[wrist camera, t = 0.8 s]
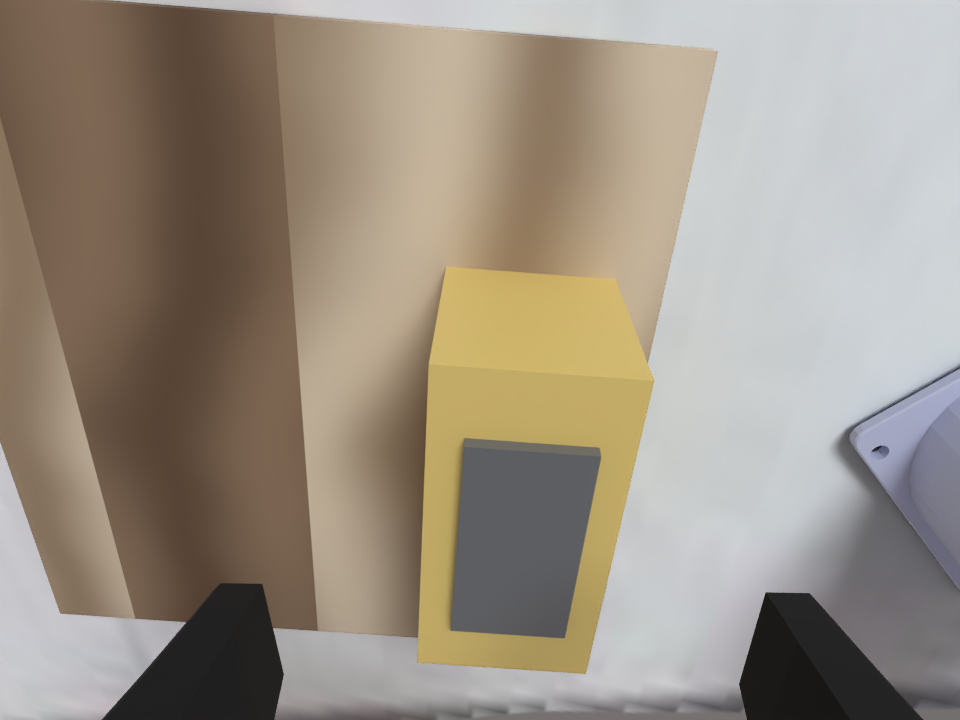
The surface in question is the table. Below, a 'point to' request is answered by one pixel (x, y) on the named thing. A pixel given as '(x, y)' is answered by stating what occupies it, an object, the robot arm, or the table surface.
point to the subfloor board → (287, 277)
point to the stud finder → (525, 466)
